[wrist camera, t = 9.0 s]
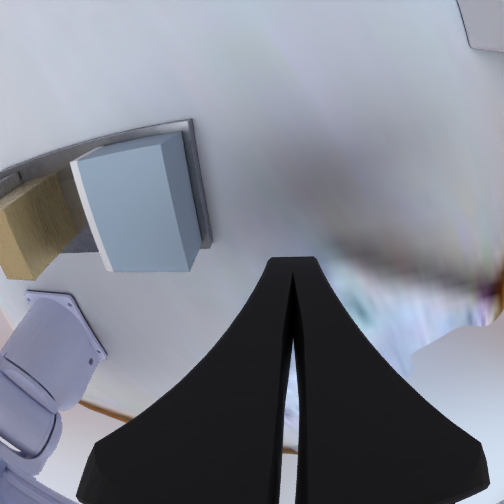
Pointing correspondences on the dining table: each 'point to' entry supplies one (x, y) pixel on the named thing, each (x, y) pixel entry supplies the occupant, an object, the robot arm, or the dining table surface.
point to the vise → (61, 166)
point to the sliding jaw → (140, 204)
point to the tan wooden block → (33, 227)
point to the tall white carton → (484, 23)
